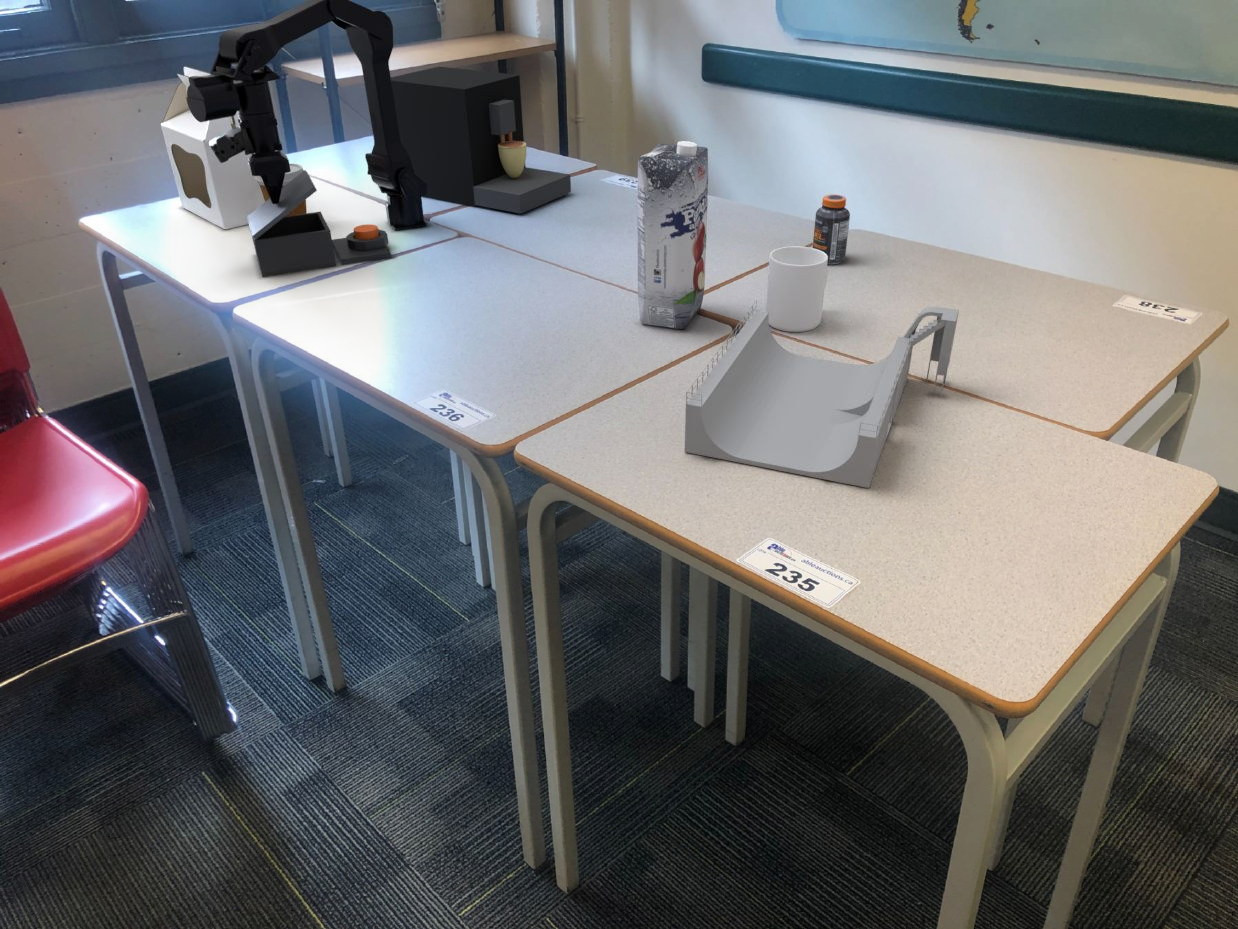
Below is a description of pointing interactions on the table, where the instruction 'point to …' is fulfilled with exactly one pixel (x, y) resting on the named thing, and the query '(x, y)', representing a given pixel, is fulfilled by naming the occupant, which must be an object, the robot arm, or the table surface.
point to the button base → (361, 248)
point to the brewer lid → (281, 204)
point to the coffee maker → (471, 139)
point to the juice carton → (672, 233)
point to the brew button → (366, 232)
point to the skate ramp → (805, 402)
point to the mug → (796, 288)
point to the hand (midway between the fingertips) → (275, 203)
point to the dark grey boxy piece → (295, 245)
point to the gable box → (207, 164)
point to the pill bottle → (832, 228)
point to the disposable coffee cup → (288, 177)
